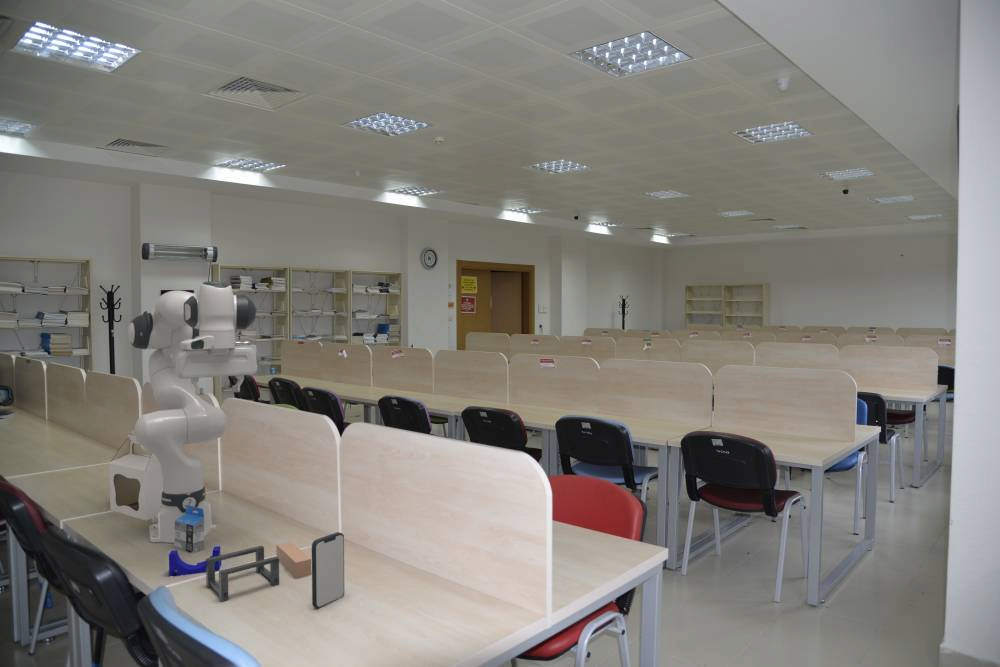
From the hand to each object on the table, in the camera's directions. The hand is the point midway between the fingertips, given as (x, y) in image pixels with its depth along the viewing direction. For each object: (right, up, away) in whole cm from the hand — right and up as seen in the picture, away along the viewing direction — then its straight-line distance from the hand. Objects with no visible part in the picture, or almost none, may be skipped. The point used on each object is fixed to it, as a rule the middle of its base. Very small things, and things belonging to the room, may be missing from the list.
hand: (218, 393), depth 172 cm
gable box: (-46, -46, +49) cm, 81 cm away
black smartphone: (+35, -48, -20) cm, 63 cm away
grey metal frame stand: (+11, -47, -11) cm, 50 cm away
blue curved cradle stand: (-5, -48, -1) cm, 48 cm away
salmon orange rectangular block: (+20, -47, 0) cm, 51 cm away
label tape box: (-14, -47, +14) cm, 51 cm away
